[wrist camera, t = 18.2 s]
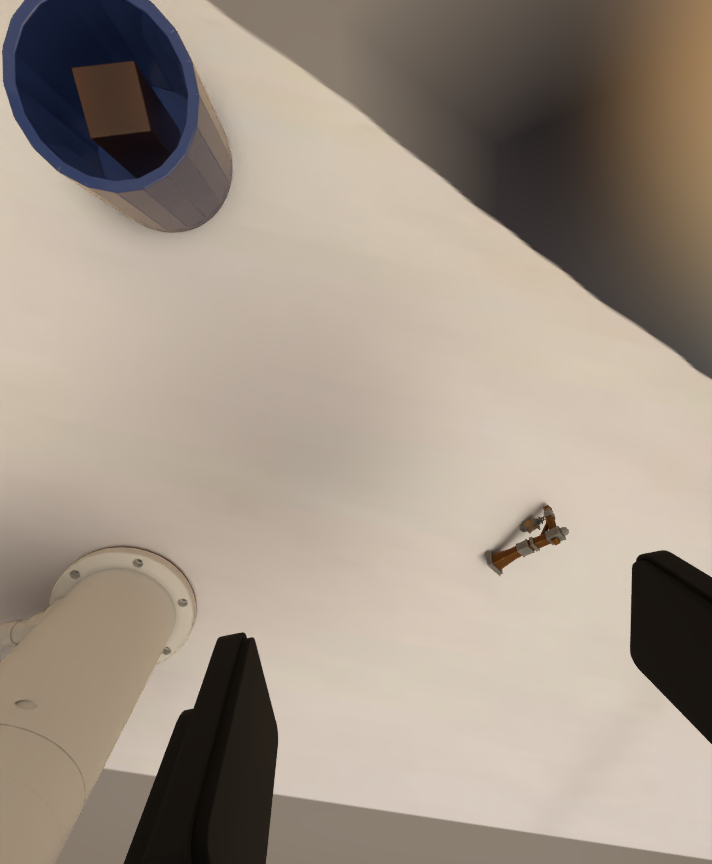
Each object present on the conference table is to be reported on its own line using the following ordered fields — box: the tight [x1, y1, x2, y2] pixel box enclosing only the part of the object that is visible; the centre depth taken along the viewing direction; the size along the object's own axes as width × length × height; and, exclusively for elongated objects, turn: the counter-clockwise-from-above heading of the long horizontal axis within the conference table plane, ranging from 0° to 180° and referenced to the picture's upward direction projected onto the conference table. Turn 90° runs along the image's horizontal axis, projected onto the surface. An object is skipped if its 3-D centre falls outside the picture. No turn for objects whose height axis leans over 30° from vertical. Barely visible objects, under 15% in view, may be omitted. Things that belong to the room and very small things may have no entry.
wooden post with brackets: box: [486, 505, 569, 576], centre depth 38 cm, size 2×8×4 cm, turn 137°
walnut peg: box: [72, 61, 181, 178], centre depth 25 cm, size 3×3×7 cm
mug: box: [2, 0, 232, 232], centre depth 24 cm, size 13×10×8 cm
